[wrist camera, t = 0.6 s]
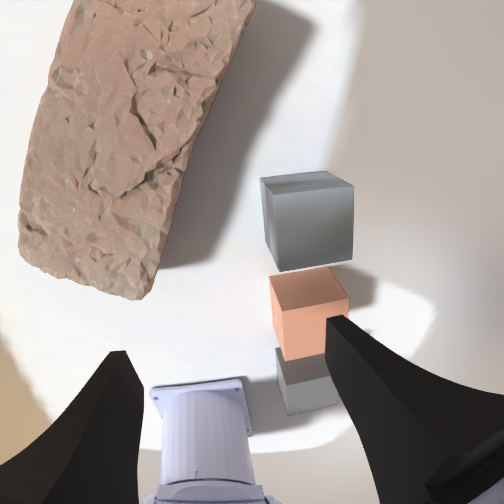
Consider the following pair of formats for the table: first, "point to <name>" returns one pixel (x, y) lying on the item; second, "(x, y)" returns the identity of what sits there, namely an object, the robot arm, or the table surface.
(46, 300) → the table surface
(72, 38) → the brick
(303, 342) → the terracotta block
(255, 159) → the table surface
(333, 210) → the slate block
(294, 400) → the gray block
